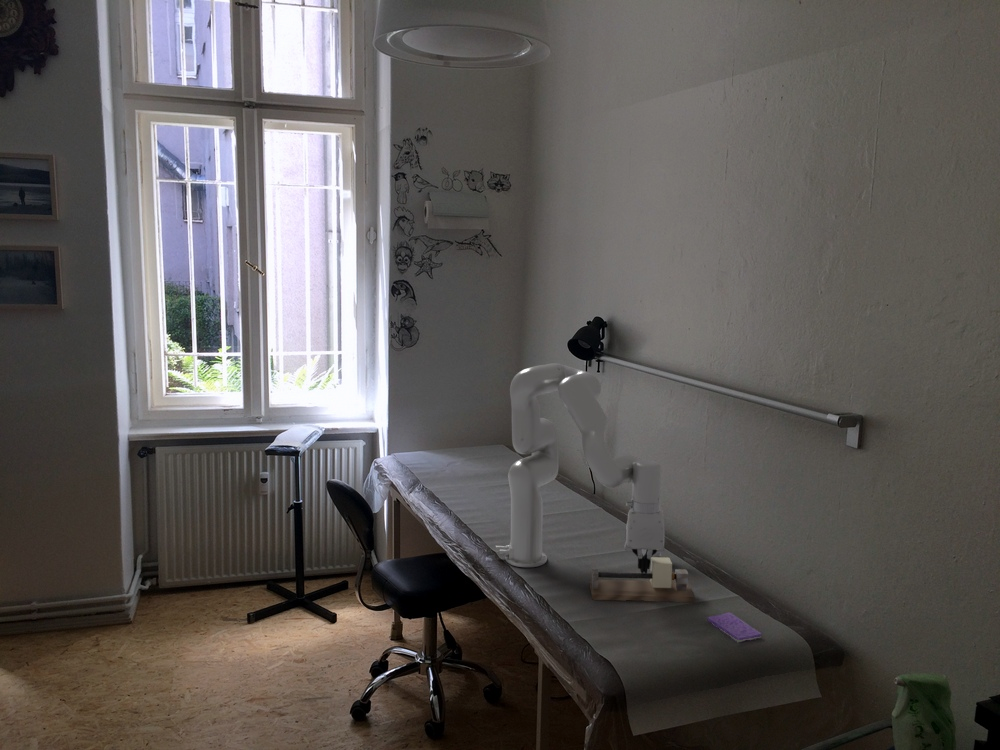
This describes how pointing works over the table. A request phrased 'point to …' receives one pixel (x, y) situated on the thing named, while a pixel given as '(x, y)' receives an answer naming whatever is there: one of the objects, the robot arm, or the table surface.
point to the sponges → (734, 626)
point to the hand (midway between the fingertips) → (643, 571)
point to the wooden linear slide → (639, 587)
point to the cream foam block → (661, 572)
